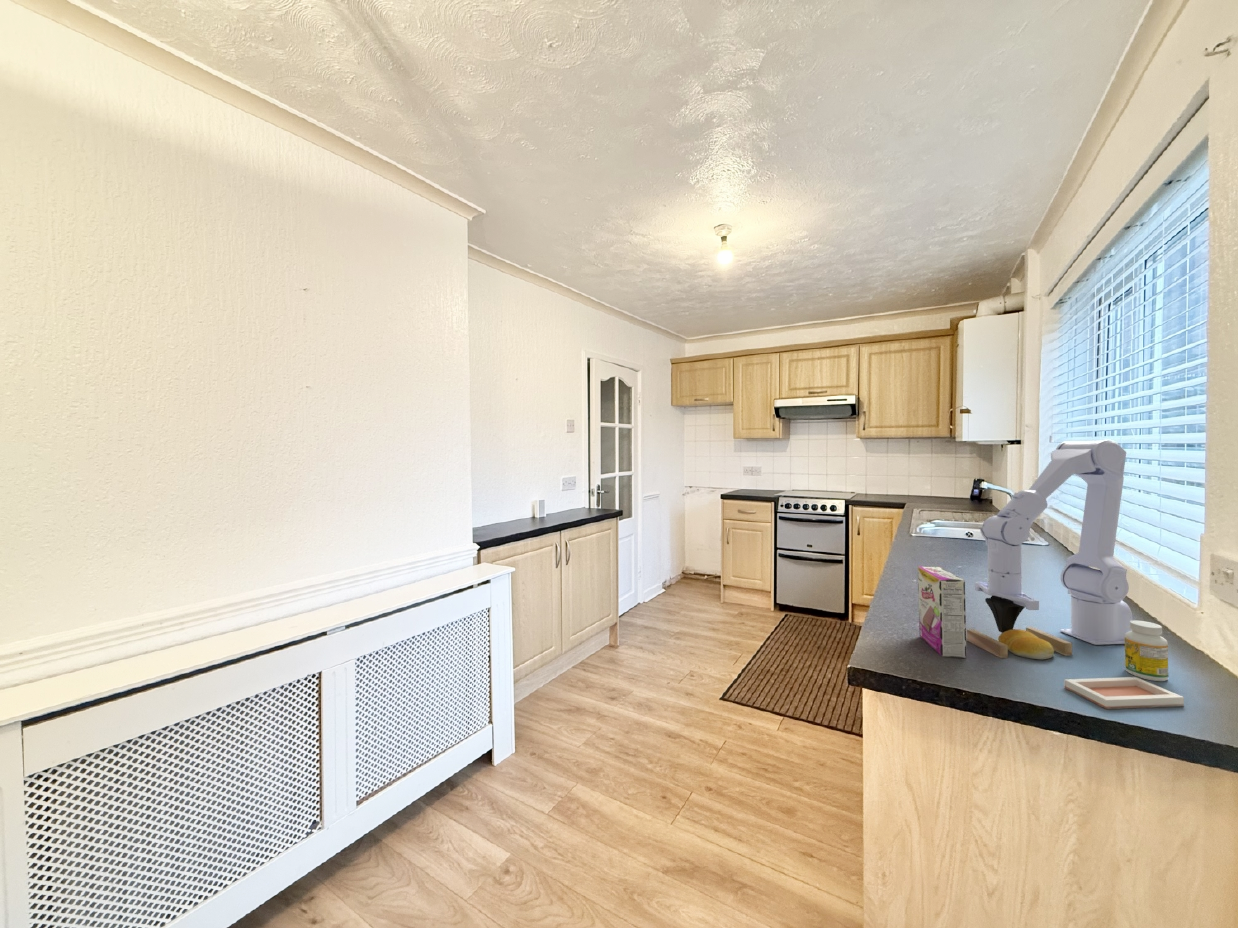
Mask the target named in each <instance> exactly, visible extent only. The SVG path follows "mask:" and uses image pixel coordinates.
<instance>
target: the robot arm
mask: <svg viewBox="0 0 1238 928" xmlns="http://www.w3.org/2000/svg"><path fill="white" fill-rule="evenodd" d="M1126 458H1127V451H1126V450H1125V449H1124V448H1123V447H1122V446H1121V445H1120V444H1119V443H1118V442H1117V441H1115V440H1111V439H1104V440H1103V439H1102V440H1087V441H1086V440H1085V441H1083V440H1082V441H1079V440H1078V441H1072V440H1069V441H1068V440H1067V441H1063V442H1061V443H1059V444H1058V445H1057V446H1056V448H1055V449H1054V450H1053V451H1052V452H1051V453H1050V459H1051V461H1050V462H1049V463H1048V464H1047V466H1046V467H1045V468H1044V469H1043V471H1042V472H1041V473H1040V474H1039V476H1038V477H1037V478H1036V480H1035V481H1034V482H1033V483H1032V485H1031V486H1030V488H1029V489H1027V490H1025V489H1024V490H1019V491H1017V492H1015V493H1013V495H1012V496H1011V497H1012V498H1011V499H1010V500H1009V501H1008V502H1007V503H1006V504H1005V505H1004V507H1003V508H1001V509H1000V510H999V511H998V513H997V514H996V515H992V516H989V517H988V518H986V519H985V520H984V521H983V523H982V526H981V527H980V528H979V531H980V534H981V536H982V537H983V539H984V541H985V546H986V547H987V576H988V577H987V581H988V582H985V581H975V582H974V591H977V592H983V593H984V594H985V595H988V596H990V597H986V598H985V601H984V602H985V603H986V604H987V606H988V607H989V609H990V611H991V614H993V618H994V621H995V624H996V627H997V629H998V632H1000V633H1001V634H1002V633H1003V632H1005V631H1008V630H1012V629H1014V628H1015V627H1014V626H1015V624H1016V621H1017V618H1018V617H1019V616H1020V614H1021V613H1022V612H1023V610H1024V609H1025V610H1028V611H1039V610H1040V601H1039V600H1037V599H1035V598H1033V597H1032V596H1029V595H1028V594H1026V593H1024V592H1023V591H1022V589H1023V587H1022V586H1023V585H1022V582H1023V580H1022V578H1023V577H1022V574H1023V573H1022V544H1024V543H1025V542H1026V541H1028V539H1029V536H1030V531H1031V528H1032V526H1033V523H1034V522H1035V520H1037V519H1038V518H1039V517H1040V515H1042V513H1043V512H1044V511H1045V510H1046V509H1047V508H1048V501H1047V499H1048V498H1049V497H1050V496H1051V495H1052V494H1053V493H1054V492H1055V491H1057V489H1058V488H1060V487H1061V486H1062V485H1063V484H1064V483H1065V482H1066V481H1067V480H1069V479H1070V478H1071V477H1072V476H1073V475H1075V476H1077V477H1079V478H1081V479H1082V480H1083V481H1084V482H1085V483H1086V485H1087V487H1086V493H1085V494H1086V495H1085V501H1084V509H1083V517H1082V524H1081V530H1080V531H1081V533H1080V540H1079V548H1078V552H1076V553H1074V554H1073V555H1070V556H1069V557H1067V558H1066V563H1065V566H1064V568H1063V569H1062V570H1061V572H1060V583H1061V585H1062V586H1063V587H1064V588H1065V590H1067V594H1068V595H1070V623H1071V624H1070V625H1071V627H1070V628H1061V629H1059V631H1060V632H1061V633H1064V634H1066V635H1069V636H1071V637H1074V638H1077V639H1078V640H1081V641H1084V642H1086V643H1089V644H1092V645H1095V646H1098V645H1100V646H1101V645H1103V646H1104V645H1125V634H1126V633H1127V632H1129V631H1132V630H1131V629H1130V621H1132V620H1133V614H1132V611H1131V608H1130V606H1129V604H1128V603H1126V602H1125V600H1124V599H1125V598H1126V597H1127V595H1128V593H1129V588H1130V585H1129V581H1128V579H1127V573H1128V571H1127V568H1126V567H1125V566H1124V565H1122V564H1121V562H1119V561H1118V560H1116V559H1115V558H1114V554H1115V547H1116V537H1117V533H1118V531H1117V530H1118V523H1119V516H1120V508H1121V504H1122V503H1121V501H1122V496H1123V495H1122V493H1123V486H1124V478H1125V477H1124V475H1125V474H1124V472H1125V465H1126ZM1123 600H1124V601H1123Z"/></svg>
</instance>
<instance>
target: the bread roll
mask: <svg viewBox="0 0 1238 928" xmlns="http://www.w3.org/2000/svg"><path fill="white" fill-rule="evenodd" d="M997 641H999V642H1001V643H1003V644H1005V645H1008V652H1009V653H1011V654H1013V655H1015V656H1018V657H1022V658H1027V659H1033V660H1048V659H1050V658H1052V657H1054V653H1055V651H1054V649H1053V647H1052V645H1051V644H1050V643H1049V642H1047V641H1045V640H1043V639H1040V638H1038V637H1037V636H1035V635H1034V634H1032V633H1030V632H1028V631H1026V629H1025V630H1024V629H1021V628H1020V629H1019V628H1018V629H1016V628H1013V629H1012V630H1008V631H1005V632H1003V633H1002V632H1001V633H1000V634H999V636H998V638H997Z"/></svg>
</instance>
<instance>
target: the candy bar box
mask: <svg viewBox="0 0 1238 928" xmlns="http://www.w3.org/2000/svg"><path fill="white" fill-rule="evenodd" d="M917 580H918V581H917V583H918V584H917V585H918V616H919V617H918V622H919V623H918V625H919V637H920V639H922V640H923V641H925V643H926V644H928V645H929V647H931V648H932V649H933V650H934V651H935V652H936V653H938V654H939V656H940V657H943V658H954V659H955V658H956V659H957V658H958V659H967V623H966V622H967V621H966V620H967V619H966V617H967V615H966V613H967V612H966V580H965V579H963V578H961V577H959V576H957V575H955V574H953V573H952V572H950V571H948V570H946V569H944V568H942V567H939V566H917Z"/></svg>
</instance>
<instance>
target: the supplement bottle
mask: <svg viewBox="0 0 1238 928" xmlns="http://www.w3.org/2000/svg"><path fill="white" fill-rule="evenodd" d="M1130 629H1131V630H1132V631H1129V632H1127V633H1126V634H1125V644H1124V653H1125V654H1124V668H1125V671H1126V672H1127V673H1129V674H1131V675H1132V676H1133V677H1137V678H1139V679H1142V680H1143V679H1144V680H1146V681H1147V680H1149V681H1152V682H1153V681H1154V682H1166V681H1168V680H1169V643H1168V640H1167V639H1166V638H1164V637H1163V636H1162V635H1163V626H1162V625H1160V624H1157V623H1154V622H1150V621H1145V620H1133V619H1132V621H1130Z"/></svg>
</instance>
